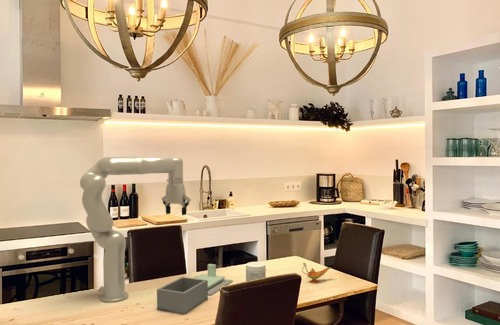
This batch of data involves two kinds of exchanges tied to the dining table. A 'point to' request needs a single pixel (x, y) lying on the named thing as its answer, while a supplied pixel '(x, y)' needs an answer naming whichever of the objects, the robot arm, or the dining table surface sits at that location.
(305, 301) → the dining table surface
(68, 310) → the dining table surface
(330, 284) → the dining table surface
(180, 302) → the parts tub
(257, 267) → the supplement tub
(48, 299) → the dining table surface
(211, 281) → the lid
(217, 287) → the mat
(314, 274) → the magic lamp
